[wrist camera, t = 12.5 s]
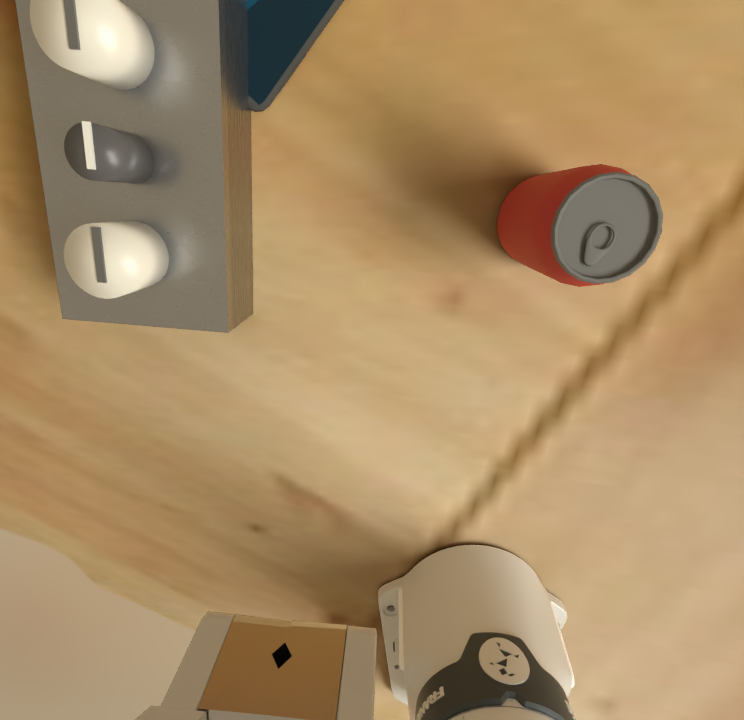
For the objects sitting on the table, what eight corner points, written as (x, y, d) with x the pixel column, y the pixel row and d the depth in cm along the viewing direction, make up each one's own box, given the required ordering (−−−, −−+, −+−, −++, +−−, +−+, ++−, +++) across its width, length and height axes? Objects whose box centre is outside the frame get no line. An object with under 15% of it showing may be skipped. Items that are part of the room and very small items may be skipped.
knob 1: (190, 107, 32) (118, 74, 24) (128, 103, 33) (35, 68, 24) (187, 34, 31) (108, -29, 23) (122, 29, 31) (20, -35, 23)
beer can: (480, 247, 36) (520, 268, 25) (518, 161, 34) (580, 139, 22) (558, 277, 36) (631, 311, 25) (600, 193, 34) (701, 189, 23)
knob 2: (199, 279, 36) (139, 302, 28) (144, 274, 36) (67, 296, 28) (196, 220, 35) (132, 226, 26) (138, 216, 35) (56, 220, 27)
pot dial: (155, 185, 30) (118, 182, 26) (109, 181, 30) (65, 178, 26) (151, 134, 29) (112, 123, 25) (104, 130, 29) (57, 119, 25)
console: (253, 313, 39) (228, 332, 33) (111, 301, 39) (62, 318, 33) (249, -3, 31) (216, -49, 26) (76, -15, 32) (6, -62, 26)
